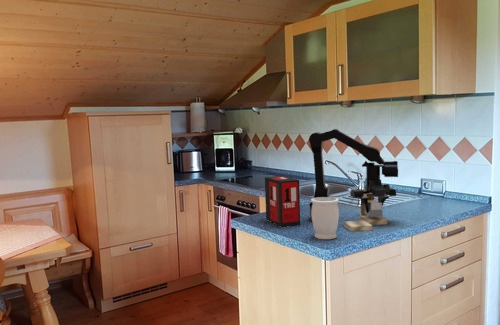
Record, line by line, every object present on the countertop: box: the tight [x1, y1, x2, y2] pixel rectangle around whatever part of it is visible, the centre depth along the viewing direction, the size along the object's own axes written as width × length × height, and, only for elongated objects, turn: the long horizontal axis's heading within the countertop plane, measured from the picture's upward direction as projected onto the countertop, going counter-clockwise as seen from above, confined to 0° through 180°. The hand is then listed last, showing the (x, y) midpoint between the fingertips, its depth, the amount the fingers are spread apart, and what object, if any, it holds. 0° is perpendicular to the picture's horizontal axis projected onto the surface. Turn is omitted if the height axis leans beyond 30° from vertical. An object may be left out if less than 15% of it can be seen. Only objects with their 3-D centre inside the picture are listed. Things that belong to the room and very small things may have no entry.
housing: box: [365, 199, 383, 217], centre depth 192 cm, size 5×7×6 cm
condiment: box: [358, 188, 375, 216], centre depth 206 cm, size 7×8×12 cm
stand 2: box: [359, 215, 389, 226], centre depth 193 cm, size 9×9×2 cm
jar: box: [310, 196, 340, 240], centre depth 172 cm, size 11×10×15 cm
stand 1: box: [343, 220, 373, 233], centre depth 184 cm, size 9×9×2 cm
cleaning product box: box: [264, 175, 301, 228], centre depth 197 cm, size 16×9×20 cm, turn 22°
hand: (373, 212), depth 192 cm, fingers closed on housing, 5 cm apart
